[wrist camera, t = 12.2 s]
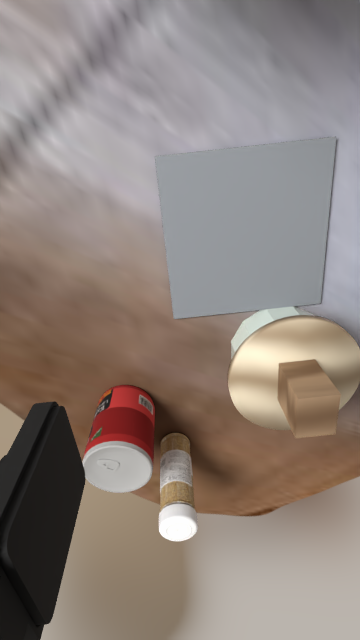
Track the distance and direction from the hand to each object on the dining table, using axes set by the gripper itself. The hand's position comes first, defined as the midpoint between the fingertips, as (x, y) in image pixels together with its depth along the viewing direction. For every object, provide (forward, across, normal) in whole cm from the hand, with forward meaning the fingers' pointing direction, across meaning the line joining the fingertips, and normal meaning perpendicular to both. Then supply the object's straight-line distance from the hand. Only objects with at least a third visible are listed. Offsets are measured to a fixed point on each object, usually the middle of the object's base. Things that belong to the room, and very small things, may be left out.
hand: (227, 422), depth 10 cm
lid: (+24, -11, +17) cm, 32 cm away
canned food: (+31, +10, +24) cm, 40 cm away
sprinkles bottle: (+31, +4, +32) cm, 44 cm away
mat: (+30, -7, +2) cm, 31 cm away
